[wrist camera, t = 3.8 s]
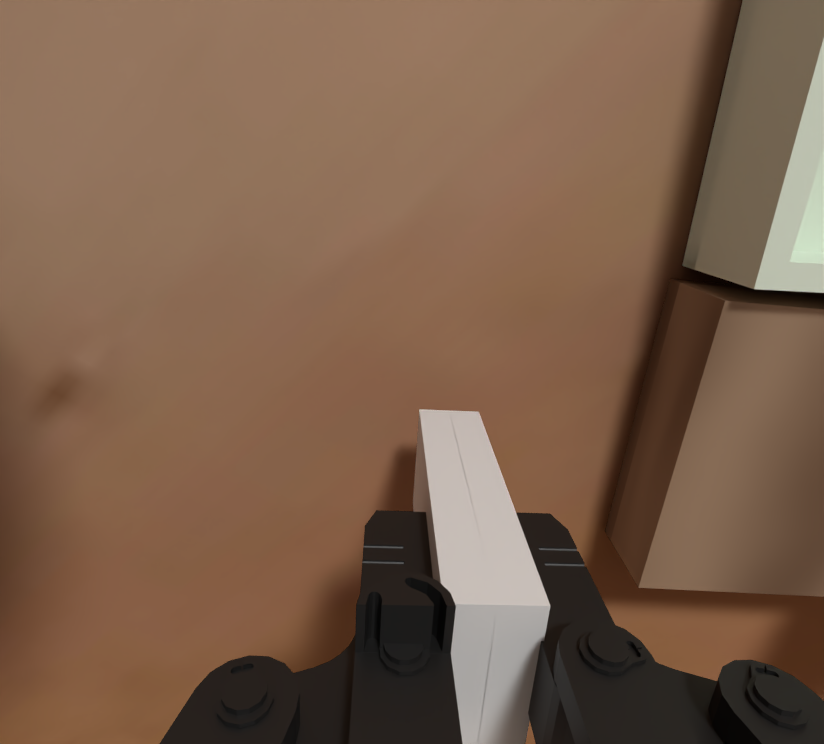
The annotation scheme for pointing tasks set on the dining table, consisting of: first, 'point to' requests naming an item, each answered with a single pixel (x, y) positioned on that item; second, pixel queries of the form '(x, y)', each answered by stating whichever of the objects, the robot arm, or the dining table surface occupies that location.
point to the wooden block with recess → (728, 446)
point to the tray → (767, 155)
